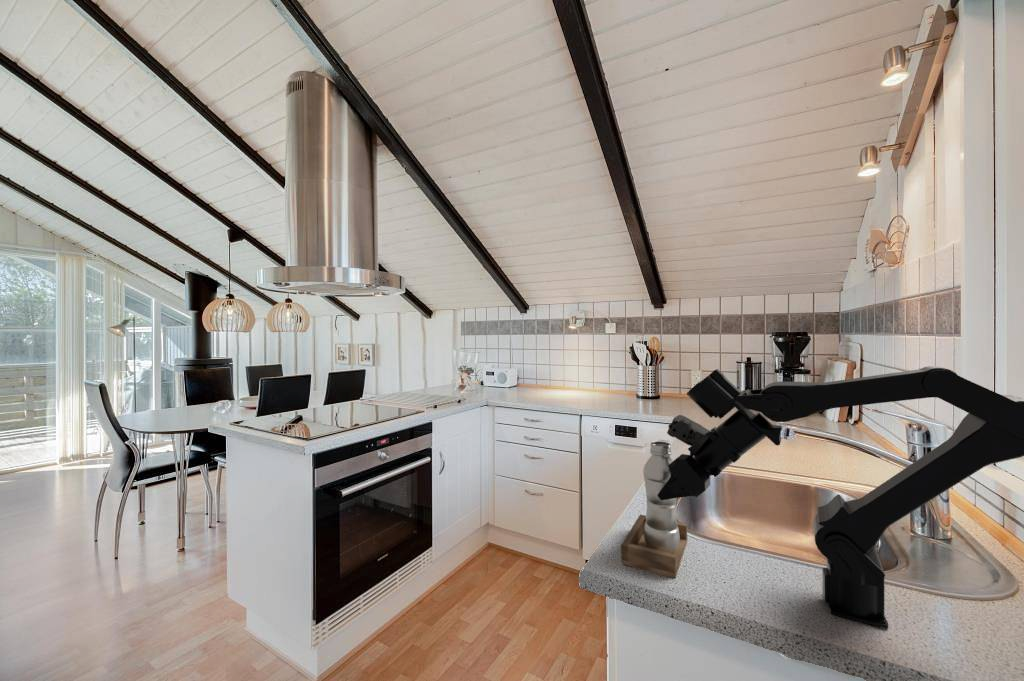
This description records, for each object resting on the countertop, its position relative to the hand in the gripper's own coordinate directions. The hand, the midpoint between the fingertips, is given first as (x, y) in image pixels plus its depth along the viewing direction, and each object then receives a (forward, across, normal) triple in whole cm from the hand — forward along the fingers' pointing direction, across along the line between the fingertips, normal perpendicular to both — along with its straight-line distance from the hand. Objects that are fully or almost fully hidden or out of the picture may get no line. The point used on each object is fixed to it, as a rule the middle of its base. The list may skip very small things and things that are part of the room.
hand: (667, 489), depth 78 cm
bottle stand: (+10, 0, +7) cm, 13 cm away
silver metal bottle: (+9, 0, +7) cm, 12 cm away
